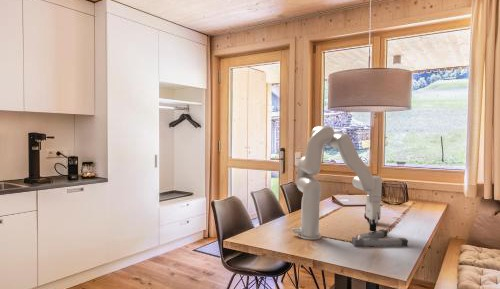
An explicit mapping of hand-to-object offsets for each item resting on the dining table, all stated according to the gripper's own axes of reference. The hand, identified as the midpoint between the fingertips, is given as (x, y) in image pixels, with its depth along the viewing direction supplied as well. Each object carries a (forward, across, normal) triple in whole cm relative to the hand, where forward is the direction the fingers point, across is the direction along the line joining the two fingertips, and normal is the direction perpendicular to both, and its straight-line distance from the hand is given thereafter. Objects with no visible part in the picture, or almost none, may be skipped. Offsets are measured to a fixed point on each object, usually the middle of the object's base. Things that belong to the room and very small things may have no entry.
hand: (372, 230), depth 194 cm
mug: (+2, -20, +7) cm, 21 cm away
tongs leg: (+1, +10, -4) cm, 11 cm away
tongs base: (+1, +19, -5) cm, 20 cm away
